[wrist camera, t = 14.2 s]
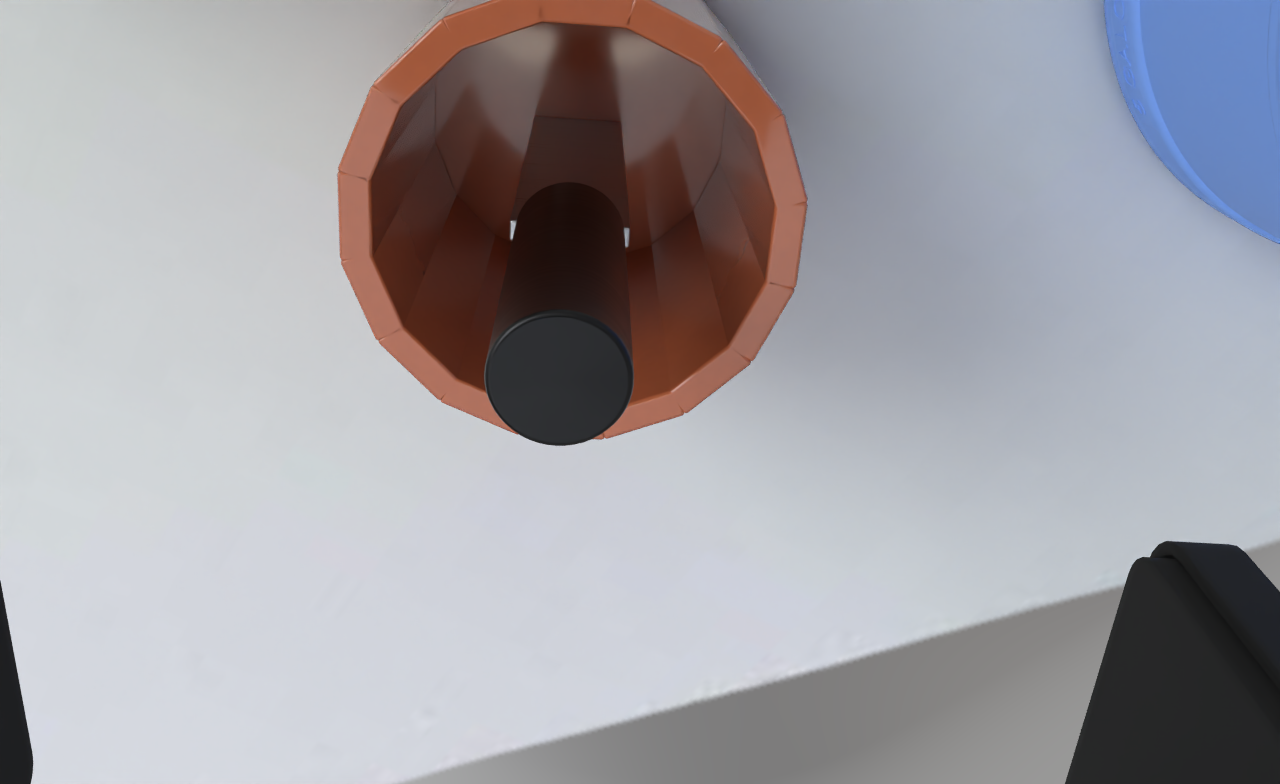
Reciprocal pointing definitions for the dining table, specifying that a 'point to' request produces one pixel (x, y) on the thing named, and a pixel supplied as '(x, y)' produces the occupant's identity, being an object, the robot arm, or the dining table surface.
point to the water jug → (1207, 97)
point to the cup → (655, 174)
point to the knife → (565, 288)
